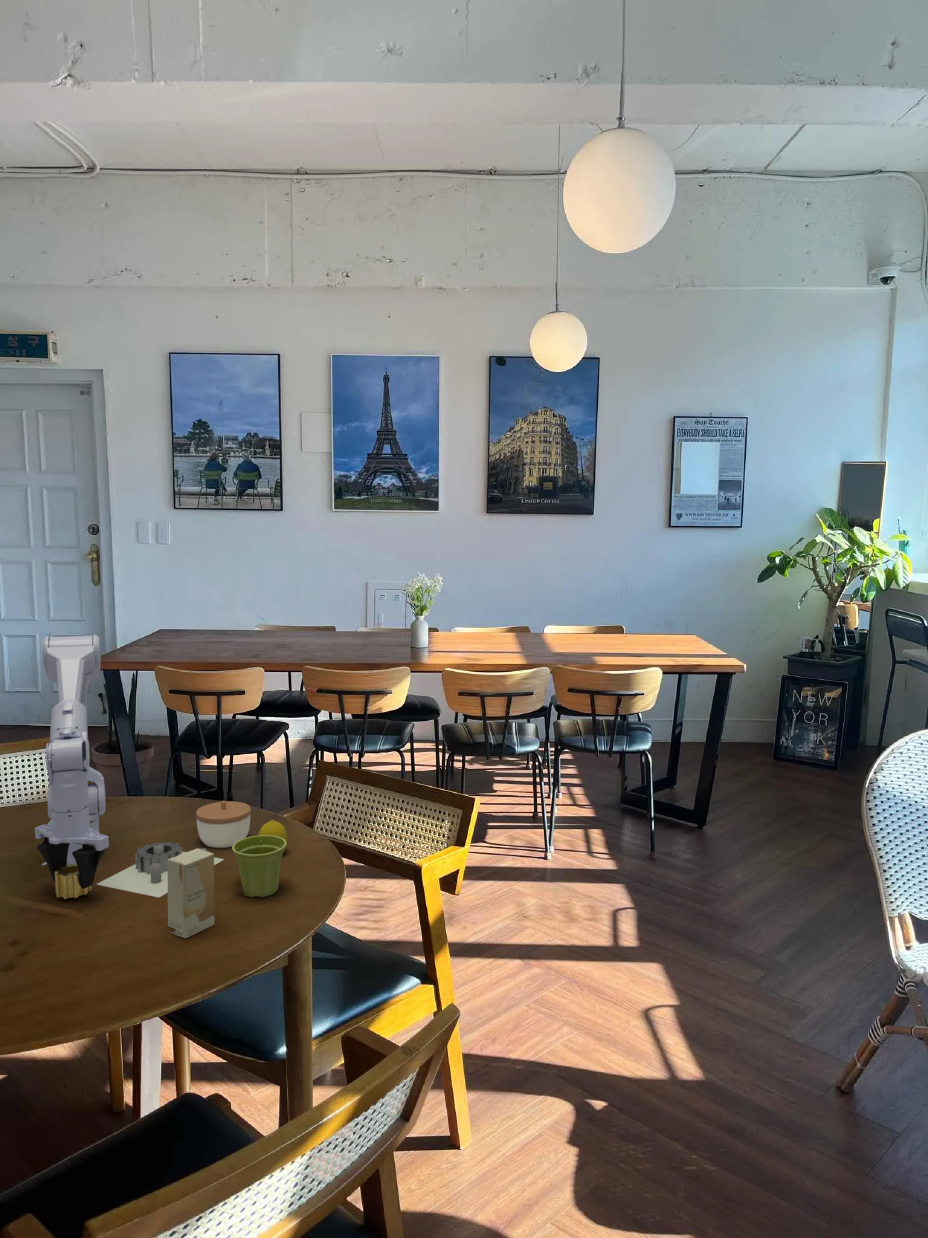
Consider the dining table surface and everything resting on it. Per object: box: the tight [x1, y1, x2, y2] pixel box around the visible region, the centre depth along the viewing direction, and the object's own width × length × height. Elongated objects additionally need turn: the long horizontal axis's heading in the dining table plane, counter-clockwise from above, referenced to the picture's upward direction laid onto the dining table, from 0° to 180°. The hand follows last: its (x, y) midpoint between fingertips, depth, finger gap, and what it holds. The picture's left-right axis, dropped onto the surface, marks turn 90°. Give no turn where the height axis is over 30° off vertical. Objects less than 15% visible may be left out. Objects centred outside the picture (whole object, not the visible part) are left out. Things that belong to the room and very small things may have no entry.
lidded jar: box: [195, 800, 252, 849], centre depth 170 cm, size 11×11×9 cm
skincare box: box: [167, 848, 215, 939], centre depth 135 cm, size 6×4×12 cm
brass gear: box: [54, 864, 92, 900], centre depth 144 cm, size 6×6×4 cm
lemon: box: [258, 819, 288, 851], centre depth 163 cm, size 6×6×8 cm
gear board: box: [95, 845, 225, 898], centre depth 154 cm, size 14×18×5 cm
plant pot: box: [231, 834, 287, 898], centre depth 149 cm, size 9×9×9 cm
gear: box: [134, 841, 183, 874], centre depth 157 cm, size 8×8×3 cm
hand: (73, 883), depth 144 cm, fingers closed on brass gear, 6 cm apart
